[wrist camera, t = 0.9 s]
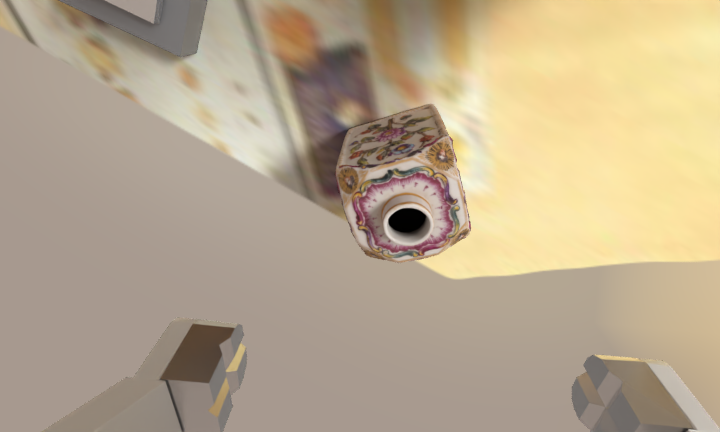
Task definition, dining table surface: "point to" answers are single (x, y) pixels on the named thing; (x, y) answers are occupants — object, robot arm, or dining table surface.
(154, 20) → the panel
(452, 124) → the dining table surface
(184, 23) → the socket
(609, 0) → the dining table surface
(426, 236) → the decorative jar
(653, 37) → the dining table surface
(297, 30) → the dining table surface
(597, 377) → the robot arm
